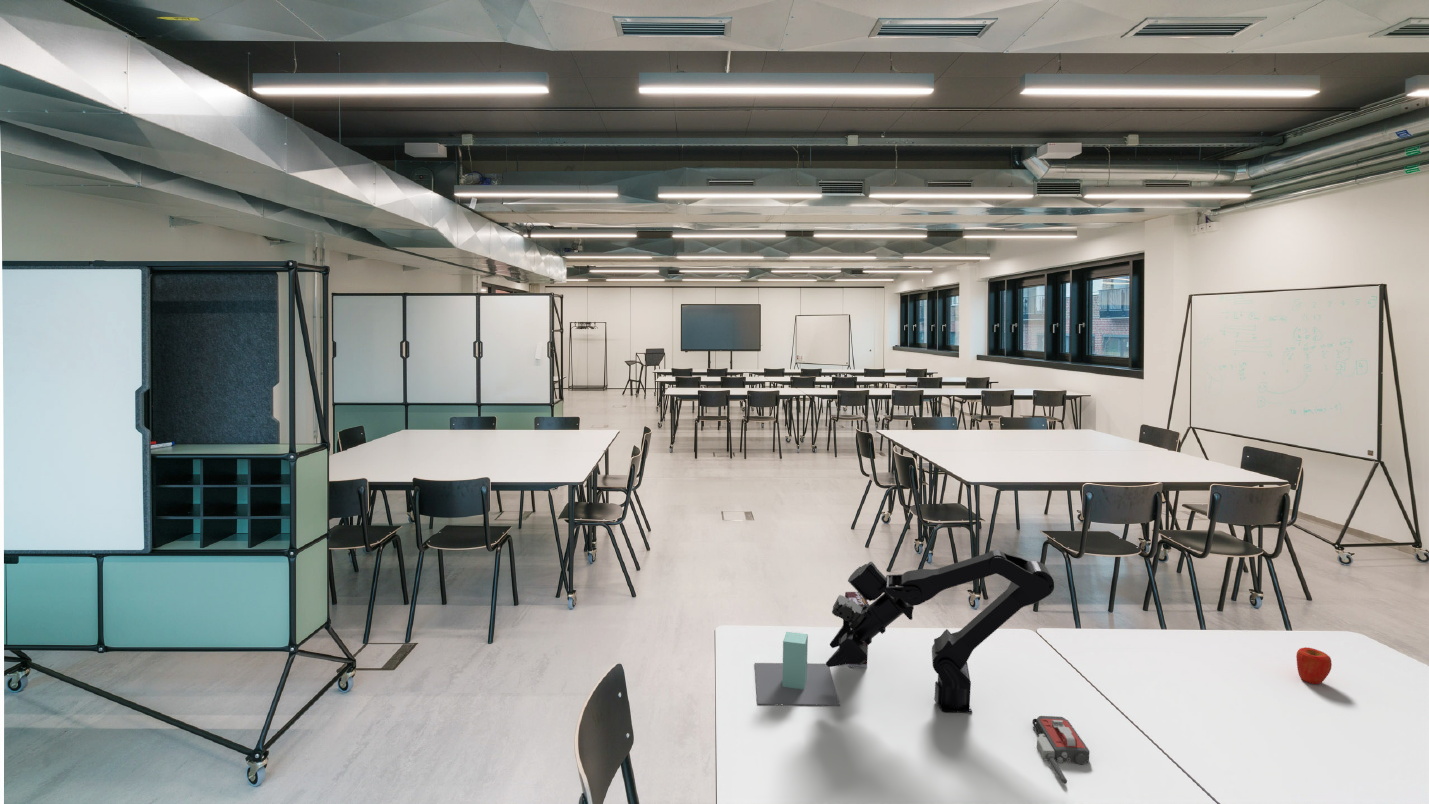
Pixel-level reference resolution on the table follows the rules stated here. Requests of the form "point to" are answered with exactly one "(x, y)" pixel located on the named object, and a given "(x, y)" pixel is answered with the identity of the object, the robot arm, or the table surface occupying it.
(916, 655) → the table surface
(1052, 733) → the walkie-talkie
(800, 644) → the teal block
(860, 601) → the supplement box
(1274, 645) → the table surface
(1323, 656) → the apple
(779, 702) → the charcoal mat
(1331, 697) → the table surface
